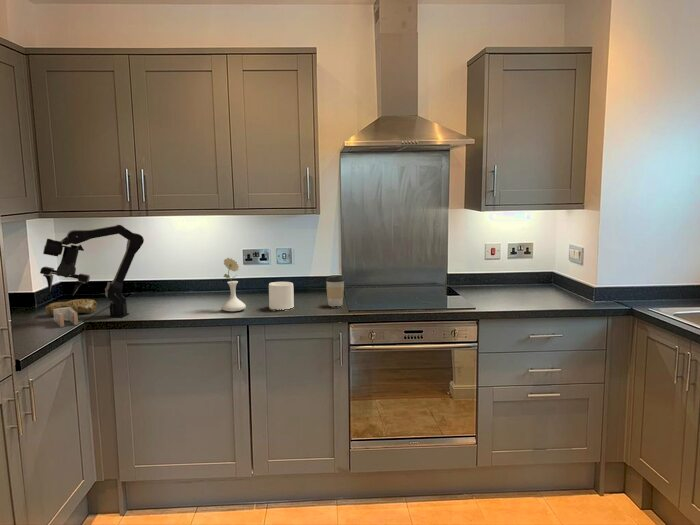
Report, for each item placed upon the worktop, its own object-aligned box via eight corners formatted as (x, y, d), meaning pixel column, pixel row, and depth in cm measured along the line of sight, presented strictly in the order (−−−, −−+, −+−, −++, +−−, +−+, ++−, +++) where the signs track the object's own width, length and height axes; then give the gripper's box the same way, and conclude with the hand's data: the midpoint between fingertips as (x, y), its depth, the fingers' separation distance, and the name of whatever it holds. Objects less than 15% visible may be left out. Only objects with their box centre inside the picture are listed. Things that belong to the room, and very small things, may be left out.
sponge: (96, 312, 265) (52, 305, 261) (98, 297, 263) (53, 290, 259) (88, 323, 253) (41, 317, 249) (90, 308, 251) (43, 301, 247)
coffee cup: (323, 304, 272) (322, 274, 270) (339, 303, 276) (339, 273, 274) (331, 308, 264) (330, 277, 262) (347, 306, 268) (347, 276, 266)
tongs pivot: (72, 319, 245) (71, 307, 245) (55, 322, 241) (54, 309, 240) (71, 318, 247) (70, 306, 246) (54, 320, 243) (53, 309, 242)
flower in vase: (250, 310, 261) (248, 258, 257) (228, 314, 253) (226, 260, 250) (236, 306, 271) (234, 255, 267) (215, 309, 263) (213, 257, 260)
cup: (289, 311, 259) (288, 286, 257) (265, 310, 261) (265, 285, 260) (296, 305, 270) (296, 281, 269) (274, 305, 273) (273, 281, 271)
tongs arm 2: (78, 324, 235) (77, 313, 235) (74, 324, 235) (73, 313, 234) (72, 319, 245) (71, 308, 244) (68, 319, 244) (68, 308, 243)
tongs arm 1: (64, 326, 232) (63, 314, 231) (60, 327, 231) (59, 315, 231) (58, 321, 242) (58, 309, 241) (55, 321, 241) (54, 310, 240)
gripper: (41, 254, 228) (32, 291, 228) (89, 264, 234) (80, 300, 233) (47, 253, 239) (39, 288, 239) (93, 263, 244) (85, 297, 244)
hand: (61, 293), depth 238 cm, fingers open, 9 cm apart
